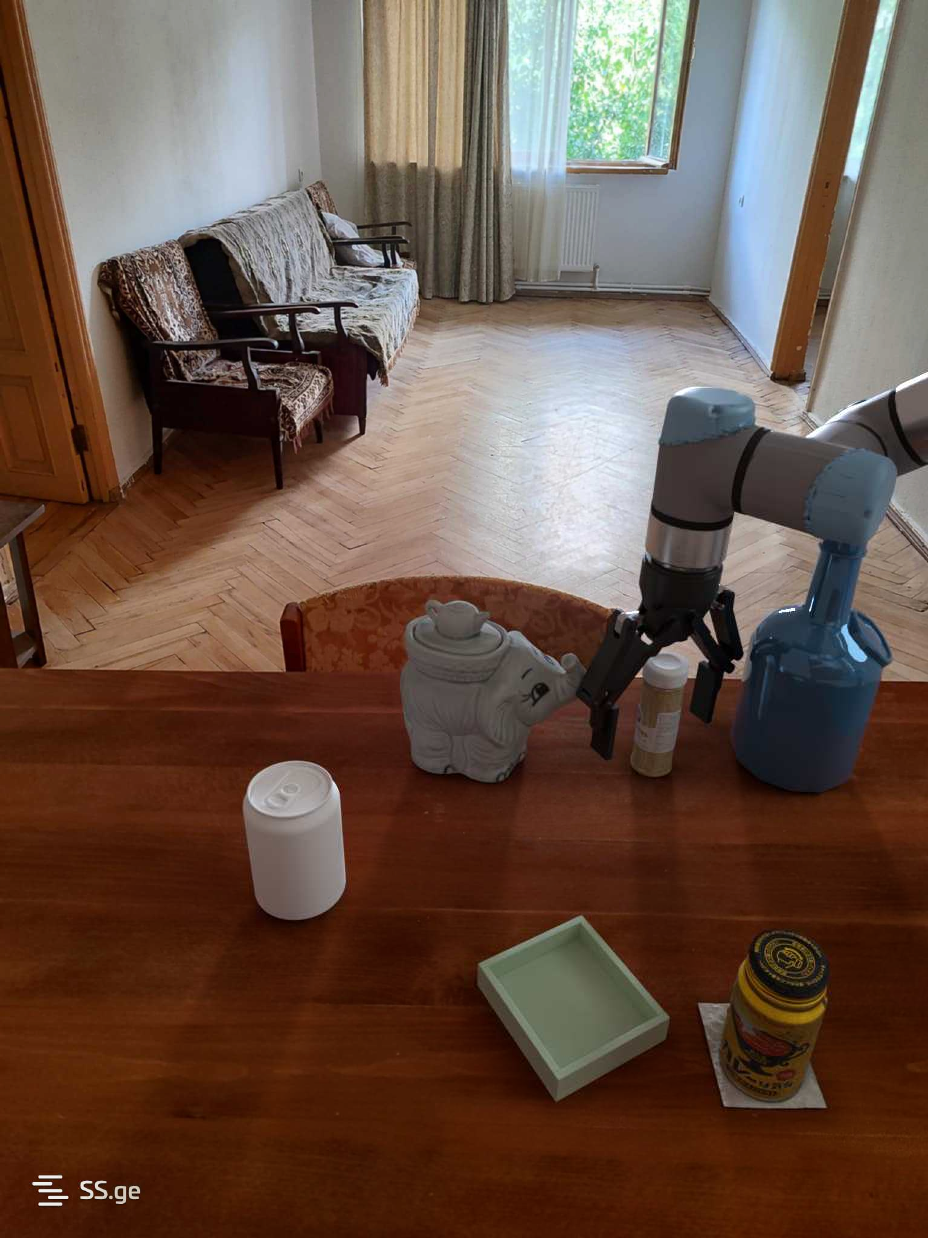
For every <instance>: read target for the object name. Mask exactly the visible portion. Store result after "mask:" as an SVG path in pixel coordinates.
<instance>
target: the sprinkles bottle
mask: <svg viewBox="0 0 928 1238" xmlns="http://www.w3.org/2000/svg"><path fill="white" fill-rule="evenodd" d="M641 670H642V671H641V676H642V687H641V690H640V691H641V693H640V699H639V703H638V710H637V715H636V716H637V717H636V724H635V730H634V737H633V738H634V739H633V740H634V741H633V747H632V752H631V753H632V754H631V755H630V759H629V761H630V765H631V767H632V768H633V770H634V771H635V772H637V773H639V774H641V775H642V776H646V777H650V778H658V777H664V776H666V775H668V774H669V773H670V772H671V771H672V768H673V756H674V749H675V746H676V742H677V737H678V732H679V725H680V719H681V715H682V714H681V713H682V708H683V699H684V698H683V697H684V691H685V687H686V686H685V685H686V684H687V682H688V678H689V671H690V664H689V662H688V661H687V659H685V657H684V656H681V655H680V654H678V653H675V652H671V651H664V650H663V651H662V650H661V651H660V652H659V653H658V655H657V656H655V657H650V658H649V660H648V661H647V662H646V664H645V665H644V666H643V667H642V669H641Z"/></svg>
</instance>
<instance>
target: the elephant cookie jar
mask: <svg viewBox="0 0 928 1238" xmlns="http://www.w3.org/2000/svg"><path fill="white" fill-rule="evenodd" d="M434 609H435V611H436V612H435V611H434ZM424 610H425V613H426V615H422V616H419V617H417V618H414V619H413V620H411V621H410V622H408V624H407V625H406V627H405V630H404V634H403V635H404V638H403V645H404V648H405V652H406V654H407V658H408V660H407V661H406V663H405V665H404V666H403V668H402V670H401V673H400V680H399V690H400V696H401V697H400V698H401V702H402V703H401V705H402V711H403V712H402V713H403V721H404V725H405V728H406V729H405V730H406V731H407V734H408V736H409V741H410V750H411V755H410V756H411V760H412V761H413V763H414V764H415V765H416V766H417V767H419V768H420V769H422V770H423V771H426V772H428V773H432V774H437V775H449V774H458V773H459V774H462V775H465V776H466V777H468V778H470V779H472V780H476V781H478V782H482V783H497V782H498V783H499V782H501V781H504V780H505V779H506V778H508V777H509V775H510V773H511V772H512V770H513V769H514V767H515V766H516V765H517V764H518V763H520V762H522V760H523V759H525V757H526V755H527V753H528V746H527V740H528V737H529V736H530V733H531V729H532V727H533V726H536V725H539V724H541V723H544V722H545V721H547V720H548V719H549V718H550V717H552V716H553V714H554V713H556V712H557V711H559V709H562V708H563V707H565V706H567V705H569V704H572V703H573V702H575V701H576V700H577V699H578V700H579V698H578V697H576V695H575V693H576V691H577V689H578V687H579V685H580V683H581V681H582V679H583V677H584V675H585V674H586V672H587V670H586V668H585V667H584V666H583V665H582V663H581V662H580V660H579V658H578V657H577V656H576V655H575V654H574V653H565V654H564V655H563V656H562V657H561V659H560V663H559V661H557V660H556V659H555V658H554V657H552V656H550V655H548V654H546V653H544V652H543V651H541V650H540V649H538V648H537V647H536V646H535V645H534V644H533V643H531V642H530V640H528V639H527V638H526V636H524V635H523V634H522V633H521V632H520V631H517V630H511V631H508V632H507V630H506V629H505V628H504V627H503V626H502V625H500V624H498V623H495V622H493V621H492V620H489V619H490V617H491V612H489V611H480V612H479V609H478V607H476V606H475V605H474V604H472V603H470V602H469V601H464V600H453V601H450V602H447V603H444V604H443V603H441V602H439V601H437V600H436V599H429V600H428V601H426V602H425V605H424Z"/></svg>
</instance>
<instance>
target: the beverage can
mask: <svg viewBox="0 0 928 1238" xmlns="http://www.w3.org/2000/svg"><path fill="white" fill-rule="evenodd" d="M242 814H243V821H244V828H245V835H246V841H247V849H248V854H249V856H248V857H249V861H250V869H251V876H252V881H253V882H252V883H253V890H254V896H255V899H256V902H257V903H258V906H259V907H260V908H261V909H262V910H264V912H265V913H267V914H269V915H271V916H273V917H274V918H277V919H281V920H286V921H301V920H307V919H311V918H315V917H317V916H319V915H321V914H323V913H325V912H327V911H328V910H330V909H331V908H332V907H333V906H334V905H335V904H336V903H337V902H339V900H340V899H341V897H342V895H343V893H344V891H345V888H346V882H347V880H346V878H347V877H346V865H345V863H346V861H345V850H344V837H343V836H344V835H343V822H342V809H341V795H340V791H339V789H338V786H337V784H336V782H335V781H334V780H333V778H332V776H331V774H330V773H329V772H328V770H327V769H325V768H324V767H322V766H320V765H319V764H316V763H313V762H310V761H304V760H289V761H282V762H278V763H275V764H272V765H270V766H268V767H266V768H264V769H262V770H261V771H259V772H258V773H257V774H256V775H255V776H253V778H252V779H251V780H250V781H249V783H248V786H247V789H246V793H245V795H244V798H243V801H242Z"/></svg>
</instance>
